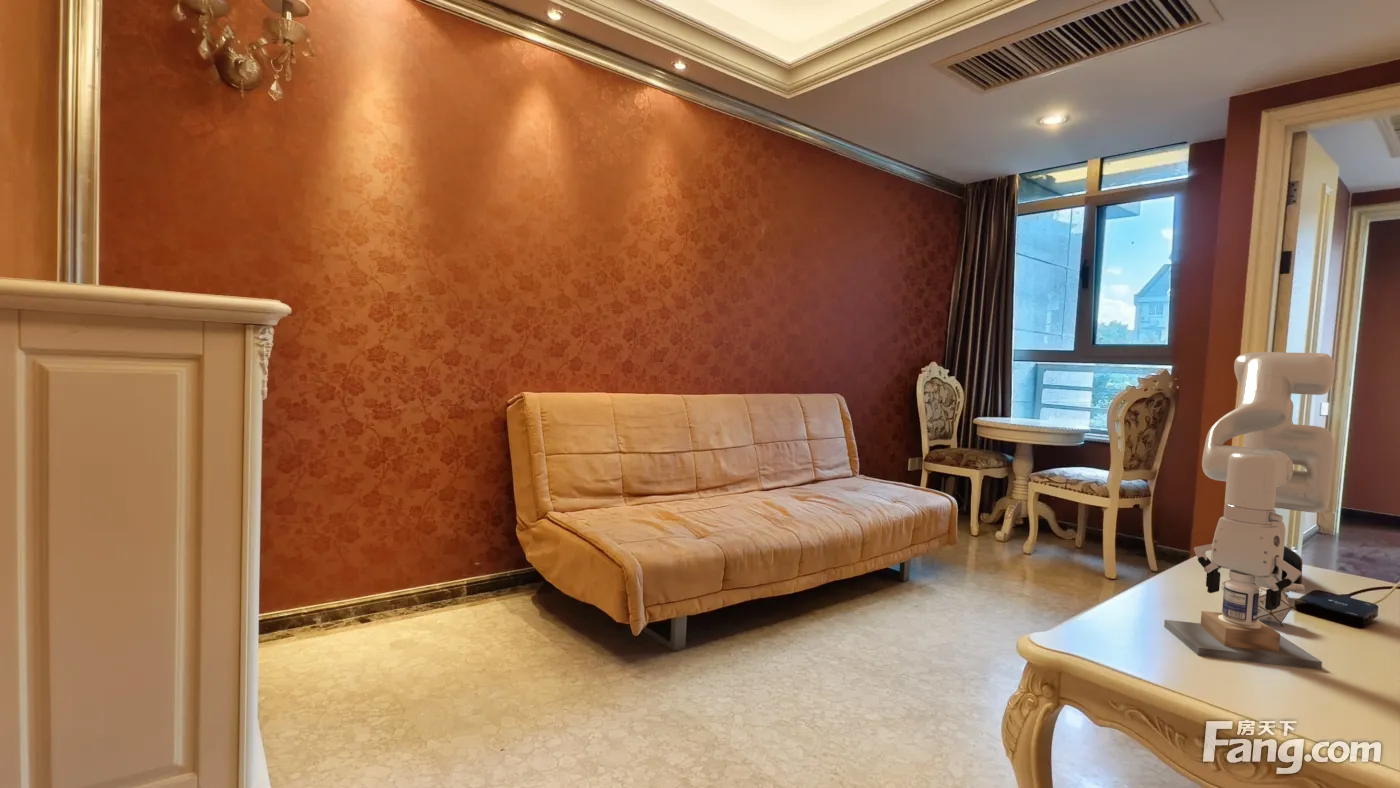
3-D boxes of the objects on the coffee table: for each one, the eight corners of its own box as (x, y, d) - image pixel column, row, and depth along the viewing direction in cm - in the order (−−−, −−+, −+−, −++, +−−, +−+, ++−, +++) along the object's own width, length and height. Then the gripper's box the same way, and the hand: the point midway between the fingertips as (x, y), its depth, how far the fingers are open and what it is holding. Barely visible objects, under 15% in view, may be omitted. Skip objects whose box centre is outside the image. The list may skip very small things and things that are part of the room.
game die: (1271, 642, 142) (1280, 615, 137) (1229, 615, 149) (1236, 588, 144) (1299, 620, 144) (1309, 592, 138) (1256, 594, 151) (1264, 566, 145)
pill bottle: (1243, 616, 133) (1247, 568, 132) (1263, 627, 128) (1267, 577, 127) (1214, 614, 133) (1218, 567, 133) (1234, 625, 128) (1238, 576, 127)
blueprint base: (1273, 638, 135) (1275, 613, 135) (1321, 669, 122) (1323, 642, 121) (1164, 626, 140) (1165, 602, 139) (1198, 655, 126) (1200, 628, 126)
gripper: (1313, 524, 123) (1305, 613, 124) (1208, 504, 138) (1201, 583, 139) (1294, 527, 120) (1286, 619, 121) (1188, 506, 135) (1182, 588, 136)
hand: (1241, 600), depth 130 cm, fingers open, 9 cm apart
